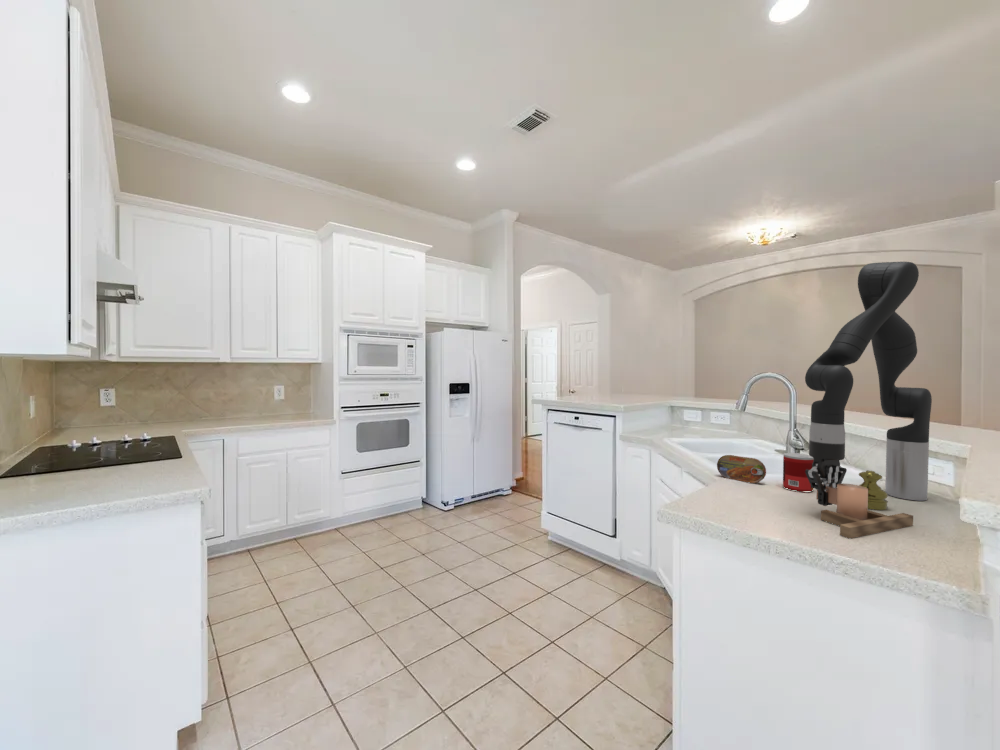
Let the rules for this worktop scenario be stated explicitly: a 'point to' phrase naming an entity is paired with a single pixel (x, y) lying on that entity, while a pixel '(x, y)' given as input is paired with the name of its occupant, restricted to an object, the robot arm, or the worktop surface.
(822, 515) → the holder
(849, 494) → the tan paddle shape
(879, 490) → the brass doorknob
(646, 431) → the worktop surface
